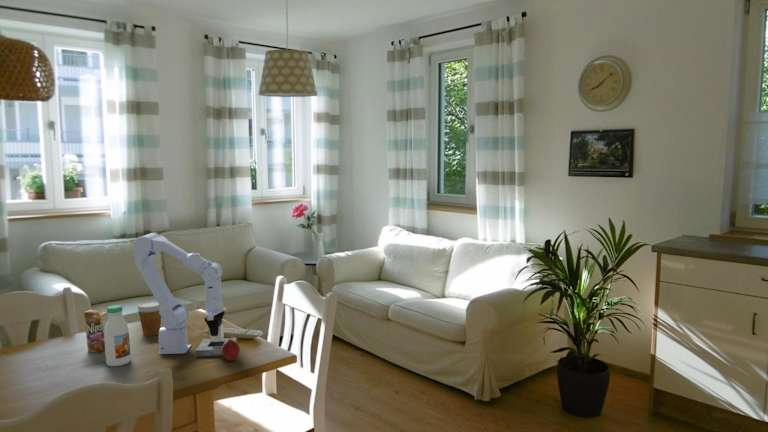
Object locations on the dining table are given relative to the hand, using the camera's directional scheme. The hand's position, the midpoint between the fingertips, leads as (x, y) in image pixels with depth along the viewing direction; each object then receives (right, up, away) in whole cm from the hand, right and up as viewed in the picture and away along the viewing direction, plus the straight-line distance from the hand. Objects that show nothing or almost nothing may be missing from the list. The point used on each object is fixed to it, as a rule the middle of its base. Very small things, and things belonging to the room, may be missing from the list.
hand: (215, 333), depth 202 cm
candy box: (-43, -7, +2) cm, 43 cm away
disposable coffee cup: (-32, -5, +21) cm, 39 cm away
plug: (0, -2, 0) cm, 2 cm away
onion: (+8, -8, -9) cm, 14 cm away
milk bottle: (-31, -8, -9) cm, 33 cm away
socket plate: (0, -6, +1) cm, 6 cm away
